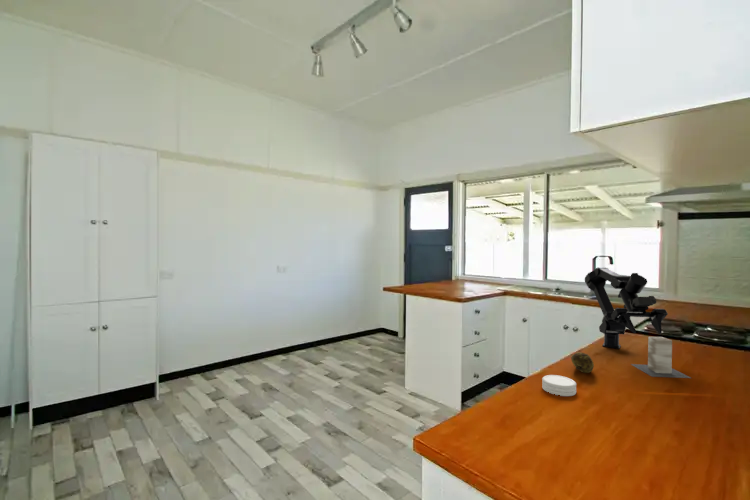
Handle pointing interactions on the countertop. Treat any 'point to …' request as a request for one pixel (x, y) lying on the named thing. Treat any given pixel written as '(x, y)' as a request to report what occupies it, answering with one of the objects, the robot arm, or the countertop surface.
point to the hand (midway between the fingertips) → (647, 333)
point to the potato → (582, 362)
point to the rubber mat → (674, 373)
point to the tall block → (660, 354)
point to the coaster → (559, 385)
